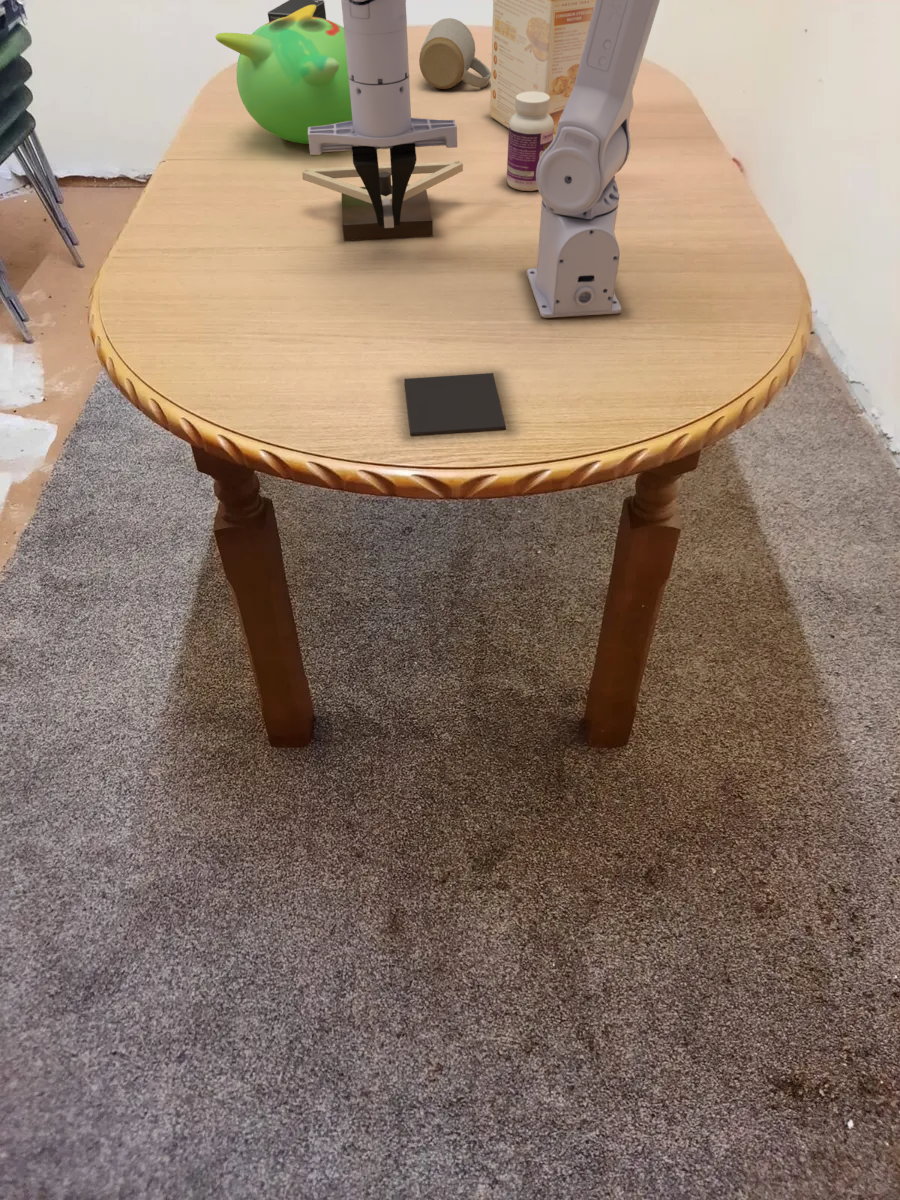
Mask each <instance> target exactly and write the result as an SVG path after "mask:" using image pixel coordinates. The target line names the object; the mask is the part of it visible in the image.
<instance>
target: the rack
mask: <svg viewBox="0 0 900 1200" xmlns="http://www.w3.org/2000/svg"><path fill="white" fill-rule="evenodd" d="M379 182H380V192H381V195H383V196H388V195H390V194H392V175H391V174H390V173H389V172H379ZM408 185H409V184H408ZM408 185H407V186H408ZM359 187H360V188H363V189H366V187H365V186H359ZM366 190H367V189H366ZM427 190H428V189H426V190H424V191H422V192H420V193H418V194H416V195H414V196H412V197H410V198H408V199H407V200H405V201H403V203H402V208H401V216H400V225H394V228H384V226H378V223H377V218H376V214H375V210H374V207H373V204H371V203H368V202H365V201H363V200H360V199H357V198H354V197H351V196H348V195H346V194H343V193H341V224H342V233H343V241H344V242H346V241H364V240H381V239H399V238H401V239H402V238H416V237H418V238H419V237H433V235H434V233H433V232H434V231H433V230H434V229H433V217H432V211H431V207H430V206H431V205H430V199H429V196H428V191H427Z"/></svg>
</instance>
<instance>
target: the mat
mask: <svg viewBox="0 0 900 1200" xmlns="http://www.w3.org/2000/svg"><path fill="white" fill-rule="evenodd" d="M494 375H495V374H494V372H488V373H487V372H486V373H474V374H473V373H471V374H457V375H443V376H442V375H441V376H427V377H426V376H425V377H409V378H404V389H405V399H406V407H407V416H408V424H409V434H410V436H426V435H427V436H428V435H442V434H453V433H469V432H483V431H498V430H506V429H507V425H506V421H505V417H504V413H503V409H502V405H501V401H500V396H499V392H498V388H497V384H496V380H495V376H494Z"/></svg>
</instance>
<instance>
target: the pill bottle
mask: <svg viewBox="0 0 900 1200" xmlns="http://www.w3.org/2000/svg"><path fill="white" fill-rule="evenodd" d="M515 108H516V111H517V113H515V114H514V115H513V116H512V117H511V119H510V121H509V128H508V133H507V135H508V137H507V138H508V139H507V163H506V183H507V185H508V186H509V187H510V188H512V189H514V190H518V191H523V192H534V191H535V192H536V191H539V190H538V187H537V183H536V169H537V164H538V161H539V159H540V157H541V155H542V154H543V152H544V151H545V150H546V149H547V148H548V146H549V145H550V144H551V142H552V141H553V130H554V122H553V119H552V117H551V116H550V115H549V114H548V113H547V112H548V111H549V108H550V96H549V95H547V94H545V93H542V92H523V93H520V94H518V95H517V96H516V102H515Z"/></svg>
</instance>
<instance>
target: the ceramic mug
mask: <svg viewBox="0 0 900 1200" xmlns="http://www.w3.org/2000/svg"><path fill="white" fill-rule="evenodd" d="M475 54H476V43H475V38H474V36H473V33H472V31H471V30H470V29H469V28H468V27H467V25H466V24H464V23H463V21H461V20H458V19H456V18H452V17H448V18H442V19H440V20H438V21H436V22H435V23H434V24H433V25H432V26H431V28H430V30H429V32H428V34H427V36H426V38H425V39H424V42H423V44H422V46H421V49H420V52H419V60H418V62H419V63H418V64H419V65H418V66H419V69H420V72H421V74H422V77H423V79H424V80H425V81H426V82H427V83H428V84H429V85H430V86H431V87H433V88H435V89H439V90H448V89H451V88H453V87H455V86H456V85H458V84H459V83H460V82H462V81H463V82H464V83H466V84H468V85H470V86H472V87H475V88H480V89H481V88H482V89H483V88H486V87H487V86H488V84H489V82H490V81H491V71H490V68H489V67H488V66H487V65H485V63H483V62H482V61H481V60H480V59H479V58H478V57H476V55H475ZM470 69H472V70H473V71H475V72H476V73H478V75H480V76H478V75H476V74H474V73H472V72H470V71H469V70H470Z"/></svg>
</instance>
